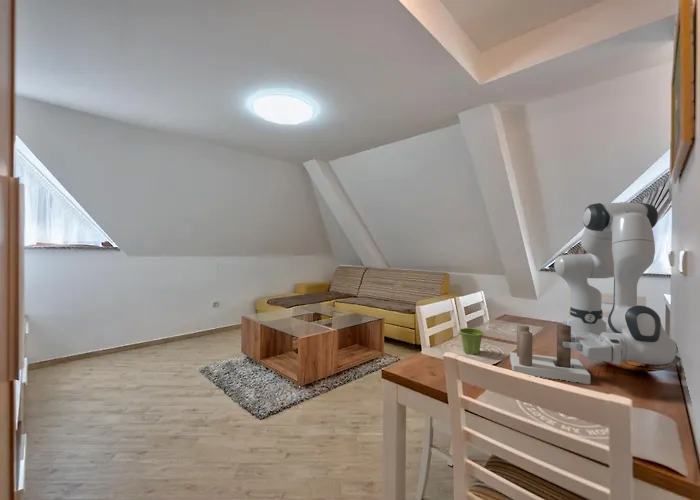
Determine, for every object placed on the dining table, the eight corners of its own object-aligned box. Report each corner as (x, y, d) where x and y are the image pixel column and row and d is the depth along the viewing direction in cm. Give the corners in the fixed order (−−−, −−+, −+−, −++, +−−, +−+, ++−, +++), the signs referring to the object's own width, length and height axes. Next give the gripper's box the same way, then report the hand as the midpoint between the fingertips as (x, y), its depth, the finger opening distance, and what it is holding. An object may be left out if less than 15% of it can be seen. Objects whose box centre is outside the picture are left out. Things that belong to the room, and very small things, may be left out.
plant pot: (486, 351, 135) (486, 330, 134) (479, 358, 127) (479, 336, 127) (464, 346, 140) (464, 326, 140) (456, 352, 133) (456, 331, 133)
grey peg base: (510, 359, 125) (510, 323, 124) (578, 367, 117) (578, 329, 116) (513, 374, 112) (513, 334, 111) (590, 384, 104) (591, 341, 103)
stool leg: (555, 363, 115) (555, 323, 114) (568, 364, 113) (569, 324, 113) (558, 367, 111) (558, 326, 111) (571, 368, 110) (572, 327, 109)
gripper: (599, 328, 117) (554, 325, 122) (622, 346, 98) (568, 341, 103) (598, 345, 117) (554, 341, 122) (622, 366, 98) (567, 360, 103)
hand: (560, 341), depth 112 cm, fingers closed on stool leg, 4 cm apart
